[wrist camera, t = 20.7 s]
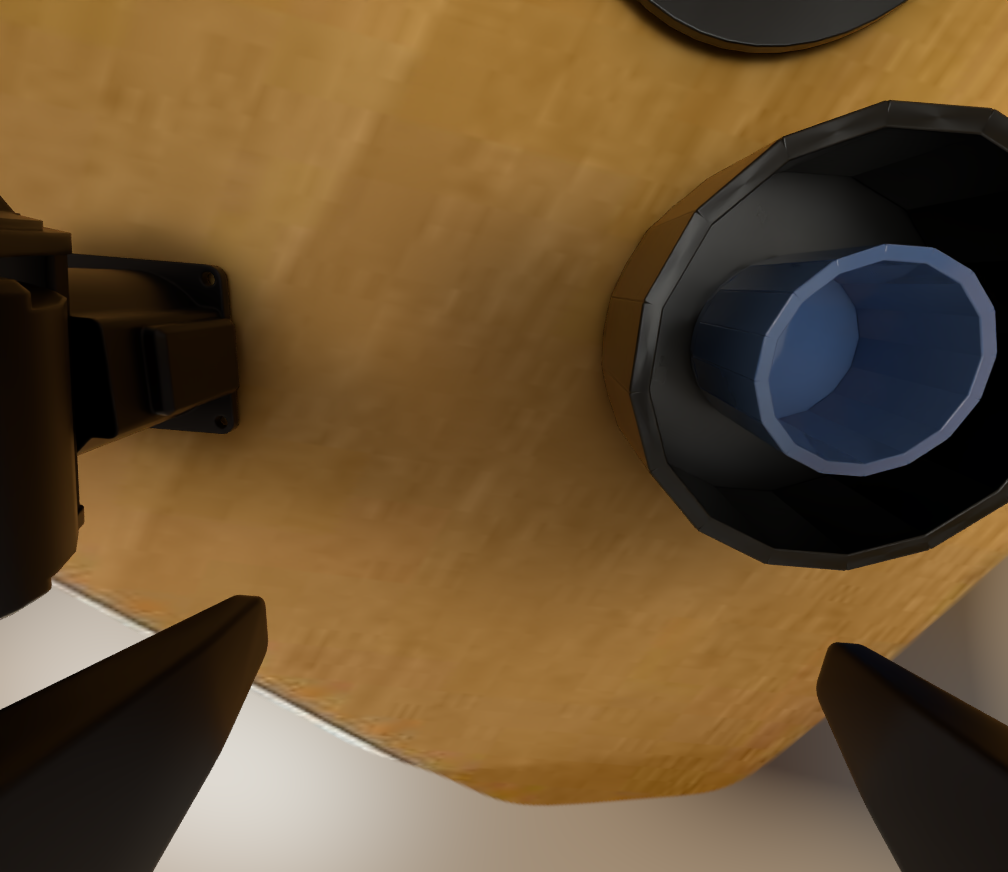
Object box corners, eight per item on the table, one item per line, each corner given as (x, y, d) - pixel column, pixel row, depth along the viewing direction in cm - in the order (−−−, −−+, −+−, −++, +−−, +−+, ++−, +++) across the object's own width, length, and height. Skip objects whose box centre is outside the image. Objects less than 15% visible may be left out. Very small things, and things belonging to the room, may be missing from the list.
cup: (676, 417, 20) (734, 466, 14) (707, 249, 18) (787, 235, 12) (834, 430, 20) (950, 484, 14) (881, 263, 18) (1034, 255, 12)
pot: (885, 509, 21) (1008, 584, 16) (582, 484, 21) (604, 551, 16) (997, 173, 17) (1208, 124, 12) (628, 143, 17) (676, 81, 12)
